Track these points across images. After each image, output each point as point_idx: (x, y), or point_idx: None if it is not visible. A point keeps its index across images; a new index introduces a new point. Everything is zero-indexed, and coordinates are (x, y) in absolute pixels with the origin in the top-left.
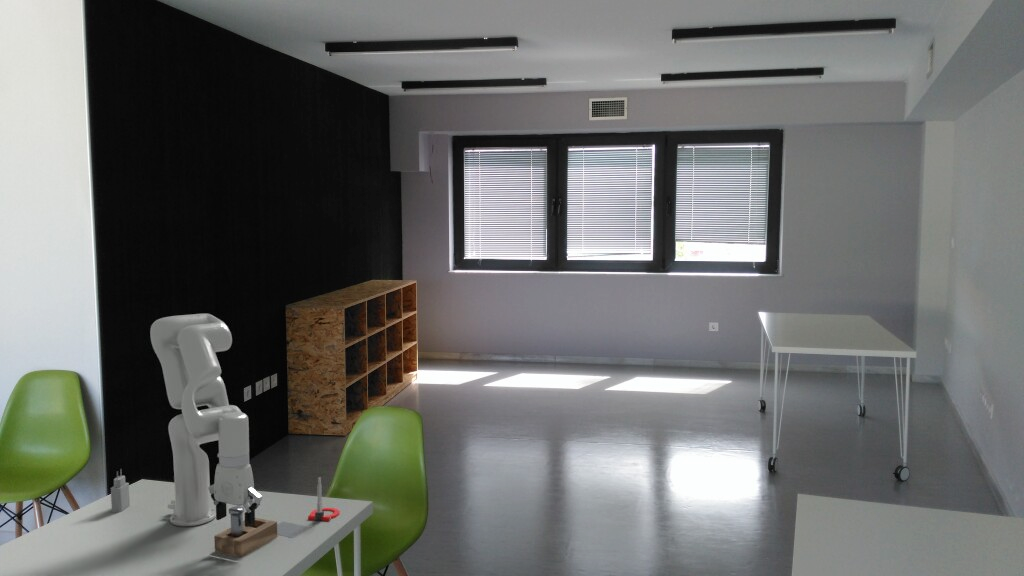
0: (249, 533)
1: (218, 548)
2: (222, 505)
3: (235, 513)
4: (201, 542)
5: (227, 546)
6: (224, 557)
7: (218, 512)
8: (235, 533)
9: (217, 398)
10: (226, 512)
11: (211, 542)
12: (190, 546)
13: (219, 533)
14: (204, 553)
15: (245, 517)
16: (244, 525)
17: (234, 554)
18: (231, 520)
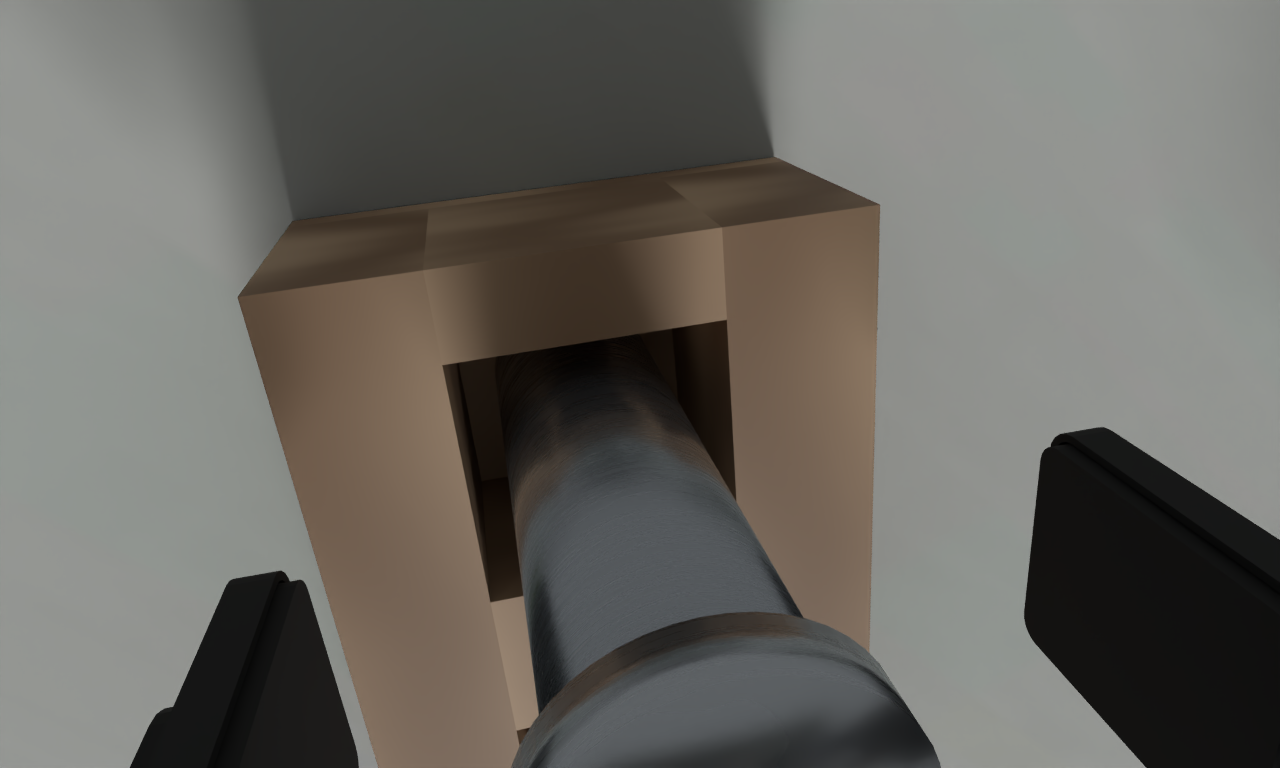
0: (430, 577)
1: (730, 175)
2: (1251, 750)
3: (578, 702)
4: (1117, 261)
5: (566, 213)
6: (533, 112)
7: (1168, 535)
8: (553, 417)
9: None
10: (1069, 680)
11: (1011, 324)
12: (1172, 112)
13: (869, 315)
14: (876, 57)
15: (194, 745)
16: None
17: (425, 209)
18: (698, 531)
